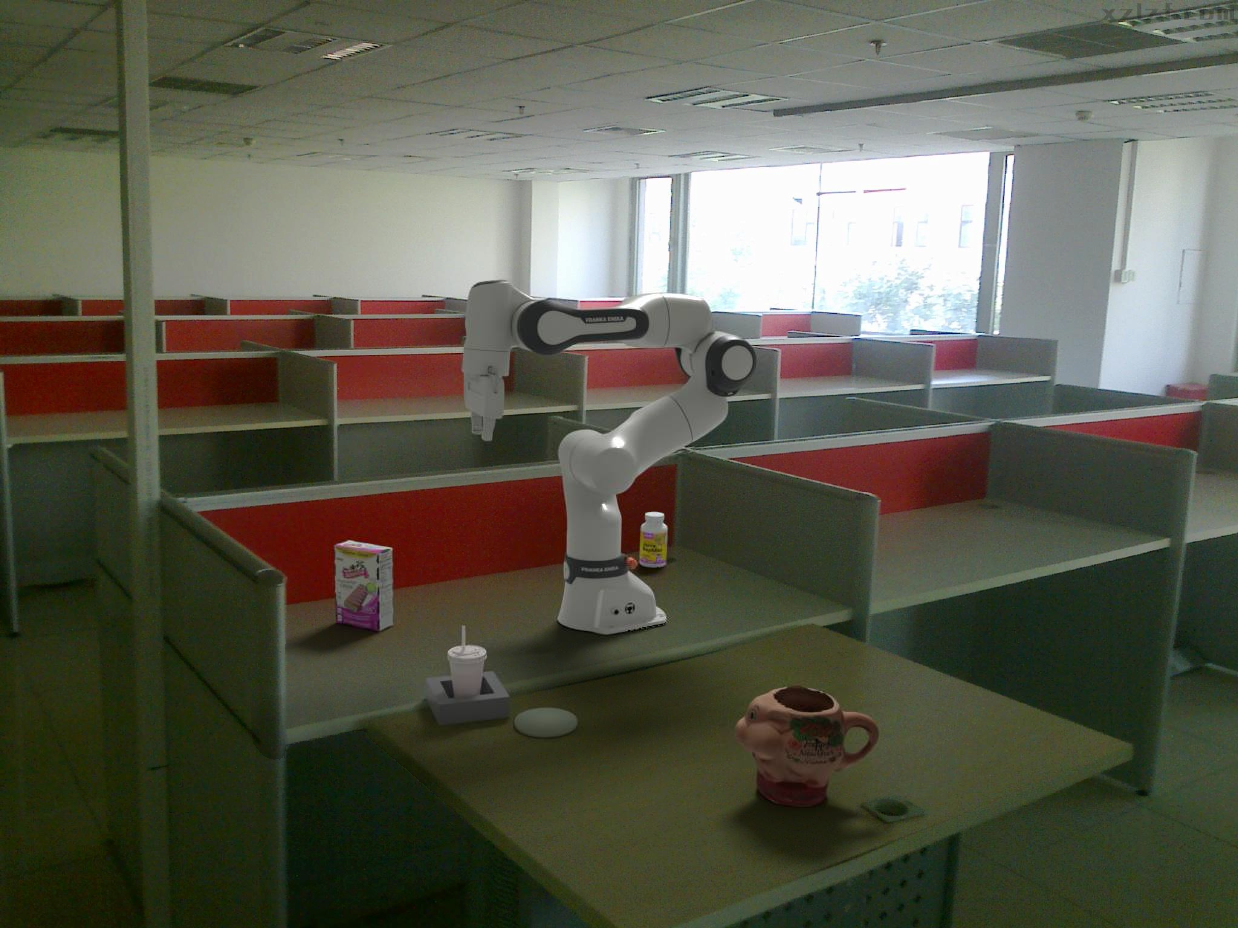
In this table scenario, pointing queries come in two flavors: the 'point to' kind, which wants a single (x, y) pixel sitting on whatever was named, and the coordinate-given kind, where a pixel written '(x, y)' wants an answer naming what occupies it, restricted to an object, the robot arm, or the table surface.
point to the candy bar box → (364, 585)
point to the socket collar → (467, 701)
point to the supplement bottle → (653, 541)
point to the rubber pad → (545, 722)
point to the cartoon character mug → (799, 742)
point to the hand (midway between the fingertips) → (481, 437)
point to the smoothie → (466, 668)
